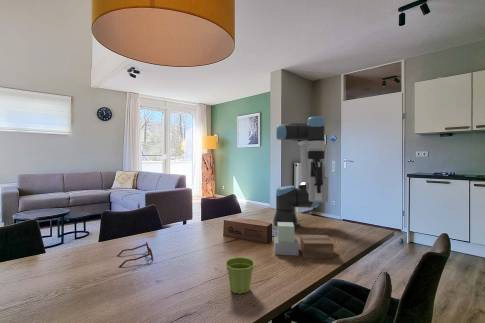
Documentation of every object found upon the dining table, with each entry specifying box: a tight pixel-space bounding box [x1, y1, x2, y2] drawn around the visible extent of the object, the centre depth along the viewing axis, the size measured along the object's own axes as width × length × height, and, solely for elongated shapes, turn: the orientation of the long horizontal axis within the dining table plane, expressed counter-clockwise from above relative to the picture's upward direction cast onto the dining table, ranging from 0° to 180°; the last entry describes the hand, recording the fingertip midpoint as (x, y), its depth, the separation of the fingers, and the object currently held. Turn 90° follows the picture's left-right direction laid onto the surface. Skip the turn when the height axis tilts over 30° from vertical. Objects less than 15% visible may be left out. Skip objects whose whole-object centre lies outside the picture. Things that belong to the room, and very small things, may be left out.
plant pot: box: [225, 257, 256, 295], centre depth 83 cm, size 9×9×9 cm
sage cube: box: [277, 222, 295, 243], centre depth 117 cm, size 7×7×7 cm
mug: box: [306, 176, 329, 204], centre depth 121 cm, size 12×8×11 cm
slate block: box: [273, 235, 300, 256], centre depth 117 cm, size 10×10×5 cm
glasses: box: [116, 241, 154, 268], centre depth 109 cm, size 13×13×5 cm
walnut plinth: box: [299, 234, 334, 259], centre depth 115 cm, size 12×12×6 cm
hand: (316, 198), depth 120 cm, fingers closed on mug, 10 cm apart
